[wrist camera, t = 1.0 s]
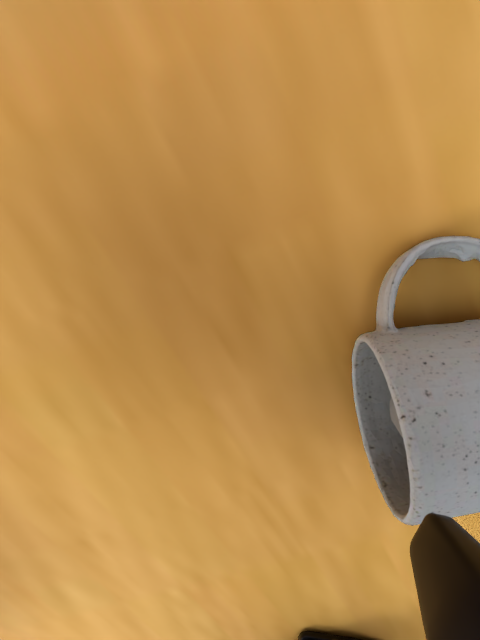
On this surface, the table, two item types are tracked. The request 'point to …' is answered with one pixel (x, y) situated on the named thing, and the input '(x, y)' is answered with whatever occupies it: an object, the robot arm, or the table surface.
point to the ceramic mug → (421, 400)
